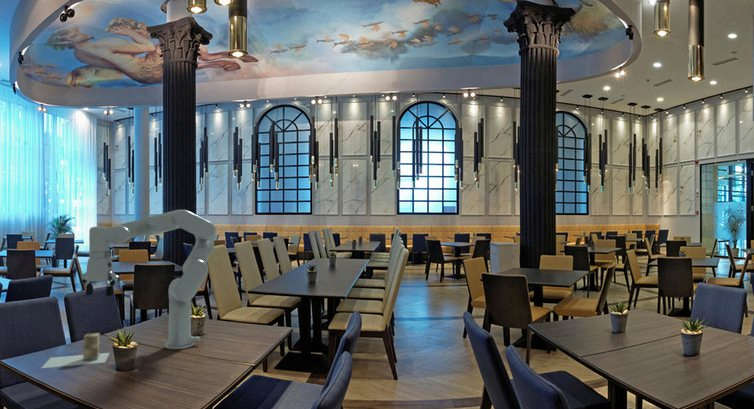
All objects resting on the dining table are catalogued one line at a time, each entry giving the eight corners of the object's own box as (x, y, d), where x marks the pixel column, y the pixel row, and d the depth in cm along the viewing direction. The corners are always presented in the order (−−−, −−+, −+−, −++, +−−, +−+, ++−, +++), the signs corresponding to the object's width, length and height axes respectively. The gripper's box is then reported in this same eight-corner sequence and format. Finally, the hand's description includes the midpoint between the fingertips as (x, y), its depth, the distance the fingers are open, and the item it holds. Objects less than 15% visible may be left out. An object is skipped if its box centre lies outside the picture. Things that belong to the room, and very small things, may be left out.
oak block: (99, 356, 204) (99, 332, 204) (97, 359, 199) (97, 335, 199) (85, 357, 202) (86, 333, 202) (83, 361, 197) (83, 336, 197)
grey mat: (110, 354, 209) (110, 352, 209) (104, 364, 196) (104, 362, 196) (50, 359, 201) (50, 357, 201) (41, 370, 188) (41, 368, 188)
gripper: (123, 254, 208) (123, 294, 208) (88, 254, 211) (88, 292, 211) (111, 256, 201) (111, 297, 201) (75, 255, 204) (75, 296, 204)
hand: (99, 295), depth 206 cm, fingers open, 9 cm apart
